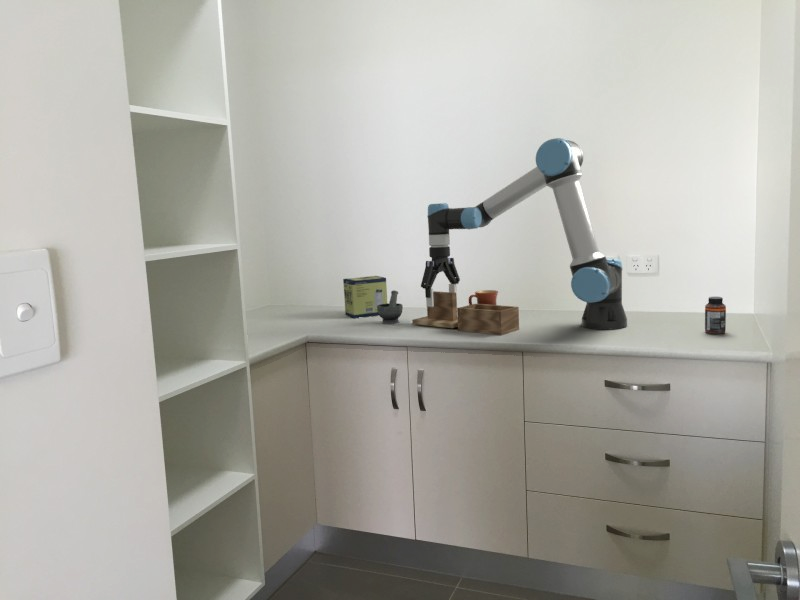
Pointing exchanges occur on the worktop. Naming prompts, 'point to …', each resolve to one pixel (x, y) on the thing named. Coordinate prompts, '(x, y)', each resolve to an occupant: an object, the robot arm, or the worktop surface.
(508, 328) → the box
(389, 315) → the mortar and pestle
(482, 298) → the mug
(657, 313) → the worktop surface
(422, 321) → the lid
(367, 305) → the protein box
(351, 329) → the worktop surface
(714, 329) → the supplement bottle
